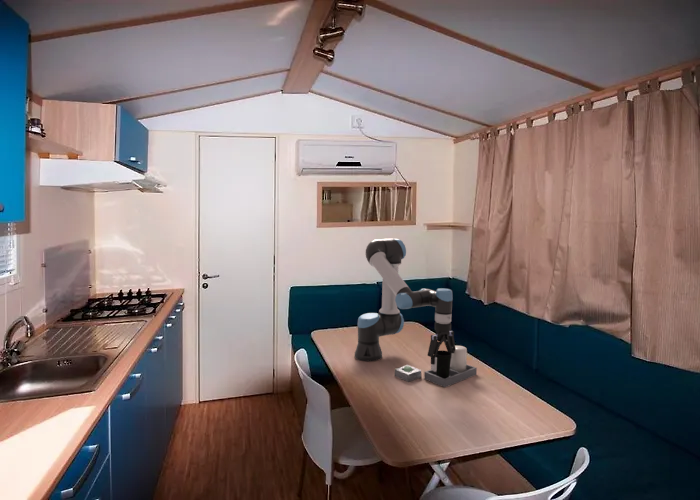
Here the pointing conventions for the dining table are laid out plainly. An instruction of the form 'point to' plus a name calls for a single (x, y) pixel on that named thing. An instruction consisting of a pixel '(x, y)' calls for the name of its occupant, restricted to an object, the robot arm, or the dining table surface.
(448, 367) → the cup
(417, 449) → the dining table surface
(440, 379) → the grey divided tray
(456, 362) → the billet
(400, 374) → the grey square socket block
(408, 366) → the button
